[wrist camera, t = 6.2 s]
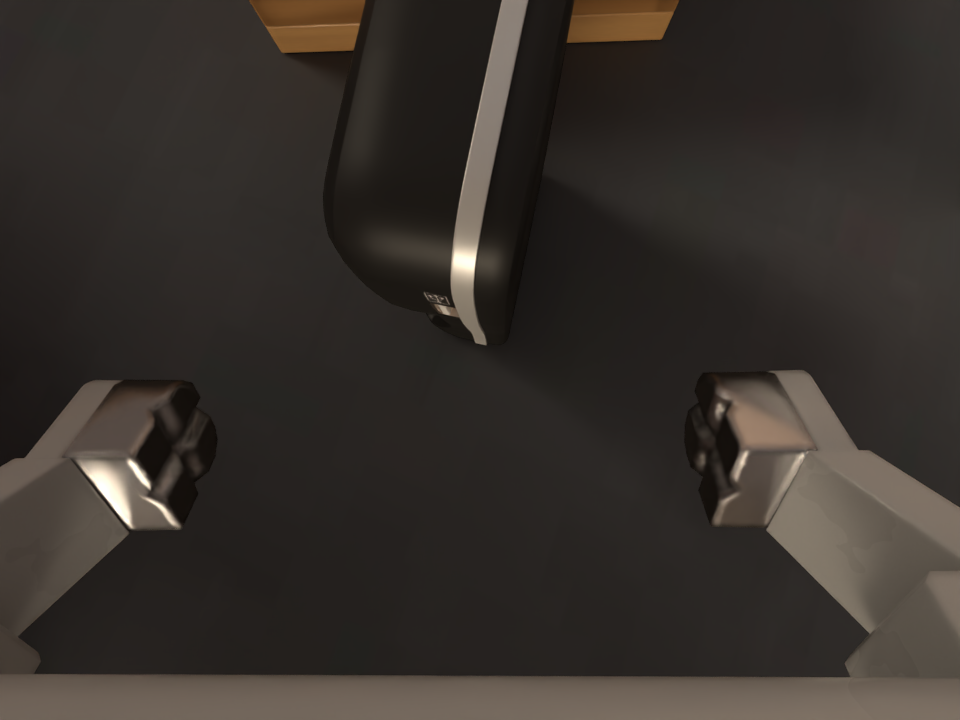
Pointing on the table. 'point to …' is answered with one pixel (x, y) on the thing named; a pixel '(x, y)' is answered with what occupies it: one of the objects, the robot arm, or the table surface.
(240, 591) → the table surface
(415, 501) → the table surface
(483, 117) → the battery charger
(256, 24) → the table surface
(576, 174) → the table surface
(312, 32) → the step shelf
